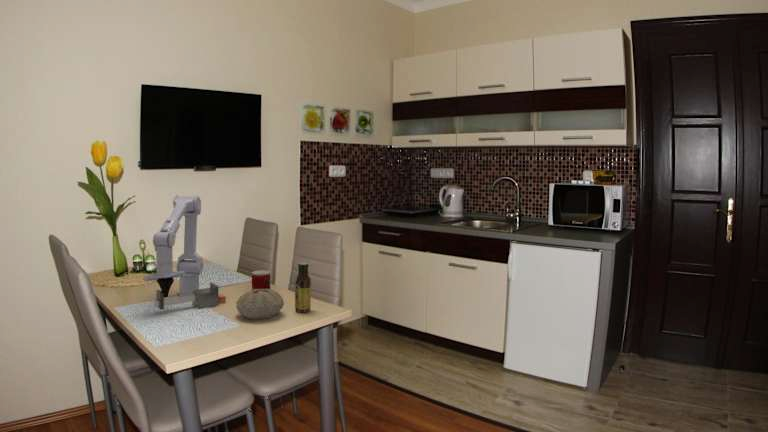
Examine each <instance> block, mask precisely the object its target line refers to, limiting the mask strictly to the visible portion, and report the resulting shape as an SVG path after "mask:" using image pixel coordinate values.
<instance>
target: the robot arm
mask: <svg viewBox="0 0 768 432" xmlns="http://www.w3.org/2000/svg"><path fill="white" fill-rule="evenodd" d="M172 205H173V210H172V212H171V215H170V217H168V218H166V219H165V220H164V223H163V224H162V226H161V228H160V230H159V231H157V232H155V233H154V234H153V237H152V244H153V246H154V251H155V253H156V256H155V258H156V261H155V262H156V273H153V274H147V275H143V278H144V279H143V281H144V282H151V281H156V283H158V285H159V288H160V290H161V291H162V292H163V293H164V298H169V294H170V290H171V287H172V285H173V284H174V281H175V280H174V278H179V280H178V284H179V285H178V287H179V291H177V294H178V296H182V295H189V294H193V290H198V289H200V275H201V274H202V273H203V270H204V263H203V257H202V256H201V255H200V254H198V252H197V233H198V232H197V230H198V228H197V227H198V216H199V215H201V212H202V200H201V198H200V196H199V195H178V194H176V195H175V196H174V197H173V200H172ZM183 217H184V234H183V237H184V238H183V253H182V254H180V255H179V256H178V258H177V264H176V266H175V267H176V271H174V261H173V260H174V259H173V258H174V256H173V247H174V246H175V243H176V238H177V235H176V234H177V233H178V231H179V230H180V229H179V228H180V227H181V224H180V221H181V220H182V218H183Z"/></svg>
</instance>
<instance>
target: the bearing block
mask: <svg viewBox="0 0 768 432" xmlns="http://www.w3.org/2000/svg"><path fill="white" fill-rule="evenodd" d="M195 293H196V294H197V301H192V305H193V306H194V305H195V308H197V307H198V308H197V309H199V310H200V308H201V309H206V308H211V307H217V306H219V305H220V304H219V285H218V284H215V283H214V282H209V287H207V288H205V287H204V288H201V289H200V288H199V289H198V290H193V294H195Z"/></svg>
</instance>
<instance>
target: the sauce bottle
mask: <svg viewBox="0 0 768 432" xmlns="http://www.w3.org/2000/svg"><path fill="white" fill-rule="evenodd" d="M297 267H298V274H297V276H296V279H295V282H294V307H295V312H296V313H299V314H300V313H301V314H302V313H303V314H304V313H305V314H307V313H309V312H310V311H311V307H312V306H311V305H312V304H311V303H312V301H311V299H312V295H311V293H312V284H311V283H312V282H311V277H310V275H309V262H306V261H305V262H304V261H302V262H301V261H300V262H298V263H297Z"/></svg>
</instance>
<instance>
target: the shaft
mask: <svg viewBox="0 0 768 432" xmlns="http://www.w3.org/2000/svg"><path fill="white" fill-rule="evenodd" d="M155 291H156V294H155V295H156V299H153V307H155V308H158V309H159V310H161V311H162V310H164V309H165V307H167V306H168V307H169V306H172V305H178V304H179V305H180V304H184V303H191V302H192V303H193V301H197V294H196V293H195V294H189V295H182V296H181V295H178V296H177V295H176V296H170V297H169V296H168V297H166V298H164V293H163V292H162V291H161V289H157V290H155Z"/></svg>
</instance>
